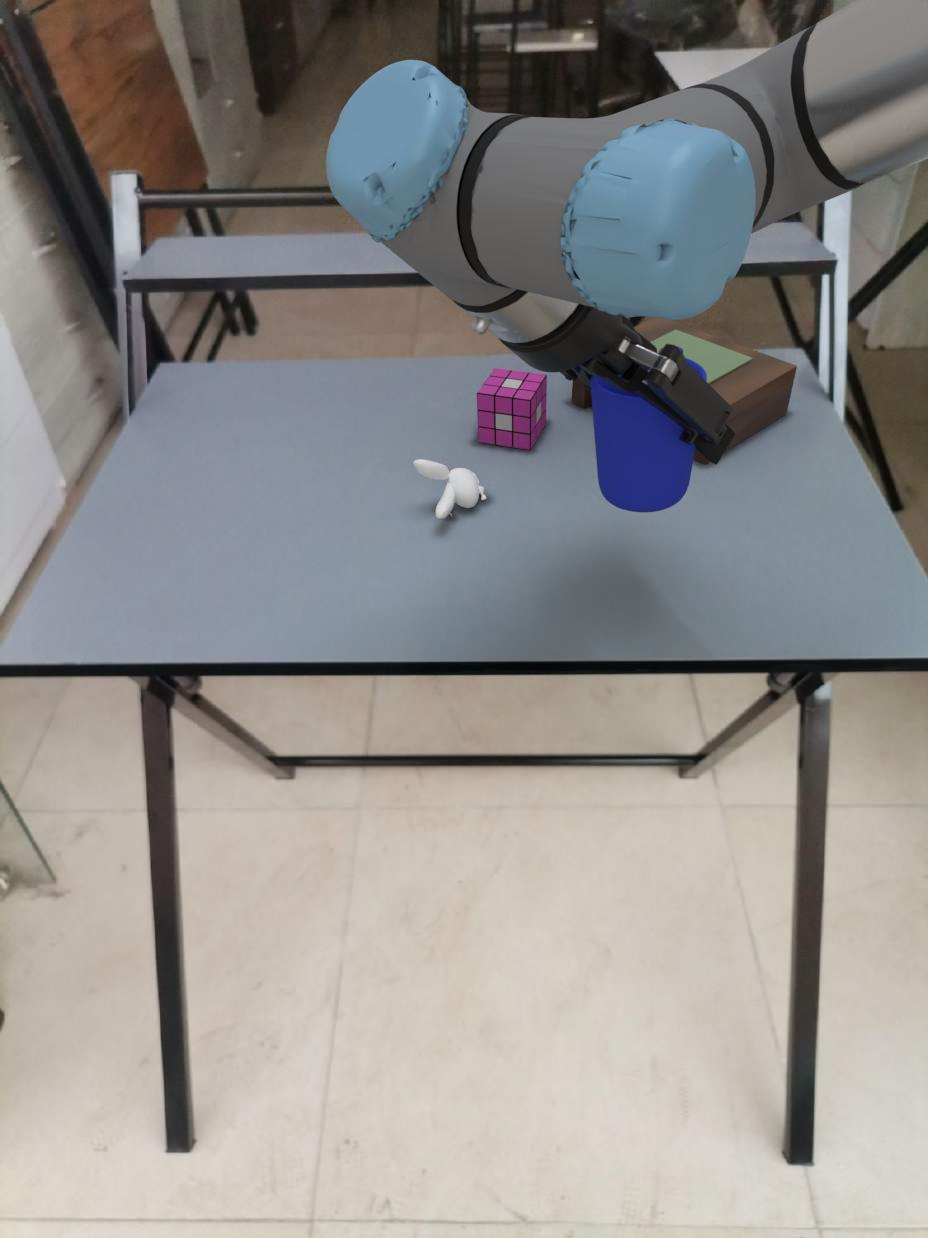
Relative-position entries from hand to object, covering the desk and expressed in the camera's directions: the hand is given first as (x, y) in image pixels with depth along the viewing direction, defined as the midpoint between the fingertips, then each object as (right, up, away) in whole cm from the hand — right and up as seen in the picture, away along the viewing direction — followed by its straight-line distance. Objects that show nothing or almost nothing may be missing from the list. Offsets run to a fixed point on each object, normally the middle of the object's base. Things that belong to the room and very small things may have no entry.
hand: (682, 429), depth 73 cm
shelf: (+6, +8, +27) cm, 28 cm away
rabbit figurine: (-19, -5, +14) cm, 24 cm away
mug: (-2, -4, +1) cm, 5 cm away
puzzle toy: (-12, +4, +24) cm, 27 cm away
